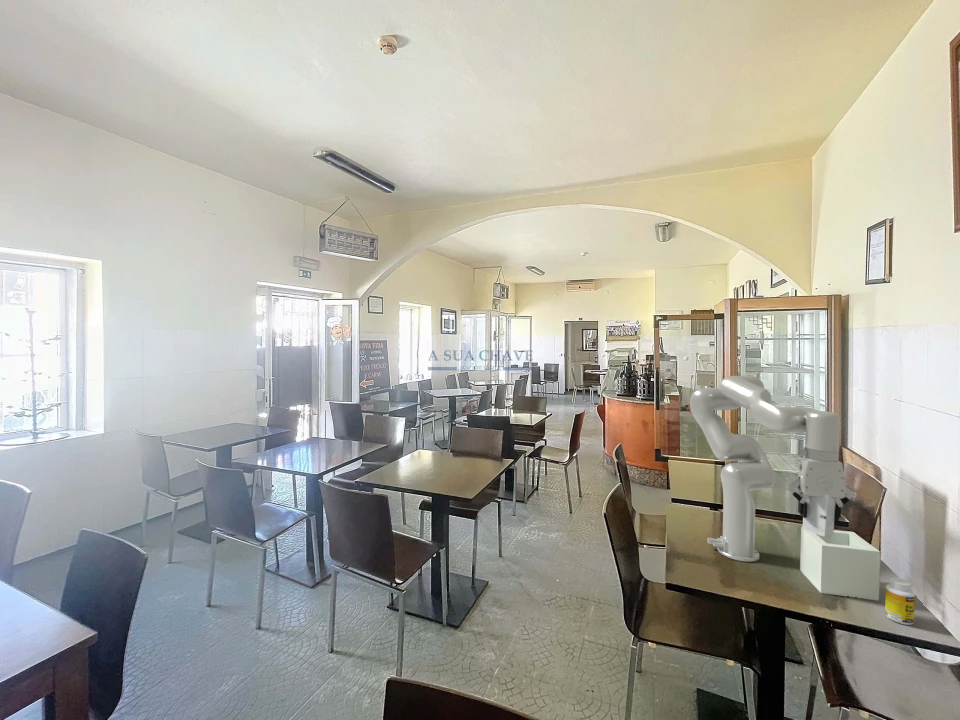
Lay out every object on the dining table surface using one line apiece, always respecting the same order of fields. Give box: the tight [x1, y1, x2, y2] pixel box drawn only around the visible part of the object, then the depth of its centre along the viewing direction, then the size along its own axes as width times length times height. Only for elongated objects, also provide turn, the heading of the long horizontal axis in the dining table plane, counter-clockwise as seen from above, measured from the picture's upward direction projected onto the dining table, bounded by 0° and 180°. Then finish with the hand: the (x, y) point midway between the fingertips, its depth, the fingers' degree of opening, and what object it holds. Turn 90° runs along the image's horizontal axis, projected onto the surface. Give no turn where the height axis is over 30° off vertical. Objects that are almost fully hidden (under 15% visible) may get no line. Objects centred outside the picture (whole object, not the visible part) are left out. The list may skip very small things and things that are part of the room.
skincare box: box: [801, 494, 836, 537], centre depth 124 cm, size 6×4×12 cm
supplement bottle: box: [884, 577, 916, 626], centre depth 116 cm, size 6×6×10 cm
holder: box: [799, 526, 881, 601], centre depth 133 cm, size 14×14×14 cm
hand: (818, 517), depth 125 cm, fingers closed on skincare box, 6 cm apart
